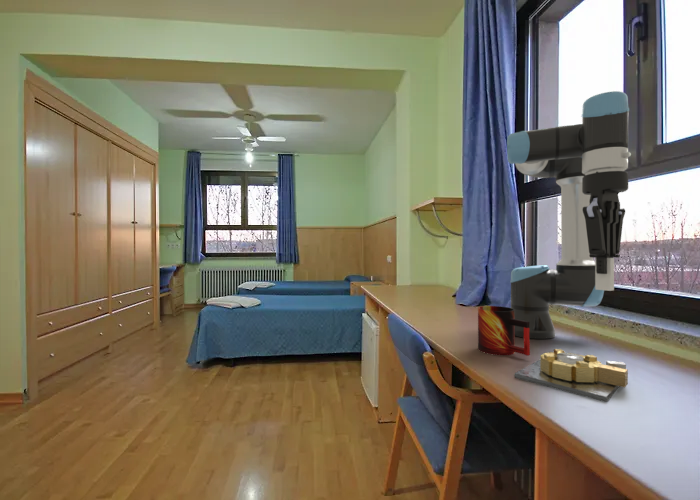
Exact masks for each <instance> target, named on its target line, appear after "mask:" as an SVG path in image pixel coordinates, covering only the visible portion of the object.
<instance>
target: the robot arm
mask: <svg viewBox="0 0 700 500" xmlns="http://www.w3.org/2000/svg"><path fill="white" fill-rule="evenodd" d="M629 112H630V107H629V98H628V95H627V94H626V93H625V92H623V91H619V90H618V91H617V90H616V91H614V90H613V91H607V92H602V93H599V94H598V93H597V94H595V95H593V96H591V97H589V98H587V99H586V100H584V102H583V104H582V111H581V116H580V117H581V122H580V123H575V124H568V125H561V126H555V127H548V128H541V129H539V128H538V129H531V130H520V131H517V132H514V133H510V134H509V135H508V136H507V138H506V139H507V143H506V145H507V146H506V153H507V155H506V156H507V162H508V163H509V164H511V165H515V168H516V170H517V171H519V172H520V173H521V174H522V175H525V176H528V177H531V178H532V177H533V178H537V179H538V178H539V179H549V178H555V183H556V184H557V185H558V186H559V187H560V189H561V193H560V194H561V195H560V199H561V200H560V201H561V205H560V208H561V215H560V216H561V217H560V218H561V222H560V223H561V225H560V226H561V228H560V229H561V233H560V234H561V259H560V260H558V262H557V263H556V265H555V266H556V267H555V269H550V267H549V265H548V264H547V265H546V264H543V265H542V264H541V265H530V266H522V267H516V268H513V269H512V270H511V273H510V281H509V282H510V308H512V309H514V316H515V319H517V320H523V321H528V322H529V339H534V340H535V339H536V340H537V339H538V340H542V339H543V340H544V339H545V340H546V339H552V338H555V337H556V328H555V326H554V323H553V321H552V318H551V315H550V305H555V306H556V305H557V306H559V305H560V306H562V305H563V306H577V307H579V306H580V307H597V306H598V305H600V304H601V302H602V300H603V297H604V293H605V291H609V292H611V291H613V292H614V291H615V259H617V258H620V257H621V254H620V250H621V241H622V233H623V231H622V230H623V223H624V217H625V214H626V209H625V208H621V202H620V199H619V194H620V193H624V192H627V191H628V189H629V173H628V171H626V170H627V169H629V157H631V155H632V153H631V152H630V151H629ZM594 258H595V259H594ZM515 337H520V338H524V327H519V326H515Z"/></svg>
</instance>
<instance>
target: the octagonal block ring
mask: <svg viewBox="0 0 700 500" xmlns="http://www.w3.org/2000/svg"><path fill="white" fill-rule="evenodd" d="M558 353H566V352H565V350H563V349H562V348H554V349H553V351H548V352H545V353H543V354H541V355H539V356H540V358H539V360H540V369H541V370H542V371H543V372H545V373H546V374H548V375H552V377H556V378H560V379H564V380H568V381H572V380H574V381H575V382H594V381H596V382H598V381H600V382H604V383H608V384H612V385H617V386H620V388H626V387H627V386H628V384H629V375H628V374H629V369H627V368H626V369H623V368H618V367H613V366H608V365H606V364H604V363H602V361H599V360H598V357H597V356H596V355H593V354H584V355H583V354H578V353H575V354H576V355H579V356H582V357H583V361H576V364H568V363H563V362H559V361H557V354H558ZM569 353H570V354H574V353H573V352H569Z"/></svg>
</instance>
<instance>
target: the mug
mask: <svg viewBox="0 0 700 500" xmlns="http://www.w3.org/2000/svg"><path fill="white" fill-rule="evenodd" d="M515 326H519V327H524V337H523V347H521V346H518V345H515V344H516V343H515V342H516V341H515V337H516V336H515ZM478 349H479V350H480V351H479V350H478ZM477 350H478V351H479V352H481V351H482V352H481V353H483V352H485V353H484V354H487V353H488V355H491V354H493V356H503V357H504V356H512V355H514V354H515V353H517V354H521V355H525V356H530V355H531V351H530V350H531V341H530V338H529V322H528V321H523V320H517V319H515V316H514V309H512V308H511V307H508V306H507V307H506V306H501V305H498V306H497V305H483V306H478V308H477Z"/></svg>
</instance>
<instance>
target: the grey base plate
mask: <svg viewBox="0 0 700 500" xmlns="http://www.w3.org/2000/svg"><path fill="white" fill-rule="evenodd" d="M570 353H571V352H568V353H567V352H565V353H558V354H557V361H559V362H563V363H568V364H576V361H583V357H582V356H579V355H580V354H578V355H576V354H577V353H573V354H570ZM605 365H608V366H613V367H618V368H623V369H627V364H626V363H625V362H623V361H611V360H605ZM514 378H516V379H519V380H522V381H526V382H529V383H533V384H537V385H541V386H544V387H549V388H553V389H556V390H559V391H563V392H567V393H570V394H574V395H578V396H581V397H586V398H588V399H593V400H597V401H601V402H604V403H607V402H609V400H610V399H611V398H612V396H614V394H615V393H616V392H617V391H619V389H620V388H621V386H617V385H612V384H608V383H604V382H600V381H598V382H596V381H594V382H575V381H574V380H572V381H568V380H564V379H560V378H556V377H552V375H548V374H546V373H545V372H543V371H542V370H541V369H540V359H538V360H537V361H535V362H533V363H531V364H529V365H527V366H525V367H524V368H522V369H520V370H518V371H517V372H515V373H514Z"/></svg>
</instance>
